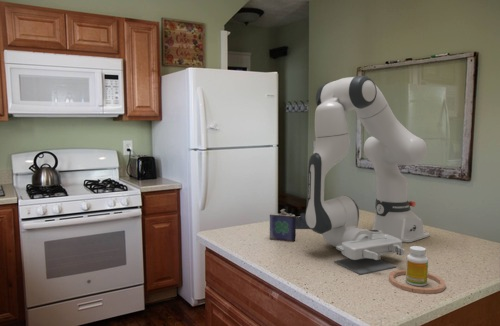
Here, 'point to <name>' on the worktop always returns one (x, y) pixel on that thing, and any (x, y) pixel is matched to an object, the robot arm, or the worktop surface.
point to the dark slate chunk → (301, 222)
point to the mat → (364, 265)
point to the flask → (283, 226)
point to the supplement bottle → (417, 266)
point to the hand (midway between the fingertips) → (391, 254)
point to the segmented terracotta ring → (417, 289)
